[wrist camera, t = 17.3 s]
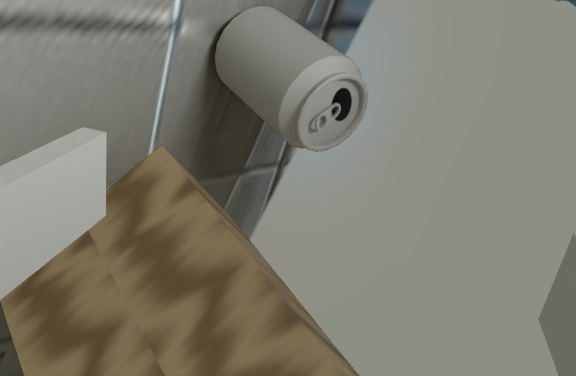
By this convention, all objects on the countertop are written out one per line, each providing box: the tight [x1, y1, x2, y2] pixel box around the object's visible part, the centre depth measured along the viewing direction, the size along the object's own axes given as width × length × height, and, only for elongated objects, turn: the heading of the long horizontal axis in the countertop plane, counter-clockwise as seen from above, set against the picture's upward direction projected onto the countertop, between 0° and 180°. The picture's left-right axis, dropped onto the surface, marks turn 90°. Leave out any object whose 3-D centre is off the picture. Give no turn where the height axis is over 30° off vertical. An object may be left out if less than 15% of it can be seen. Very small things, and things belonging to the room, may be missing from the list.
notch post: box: [0, 145, 359, 376], centre depth 41 cm, size 18×12×31 cm, turn 116°
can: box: [215, 6, 368, 151], centre depth 41 cm, size 8×8×12 cm
